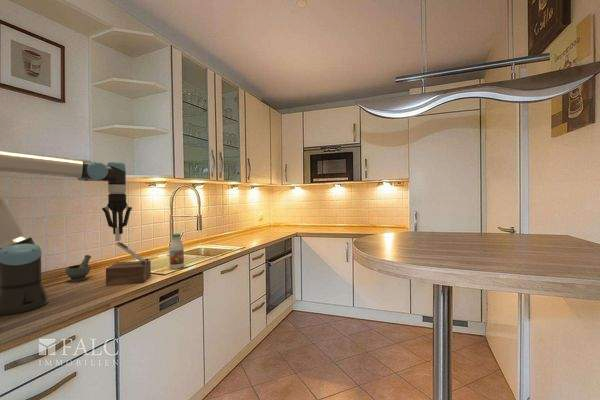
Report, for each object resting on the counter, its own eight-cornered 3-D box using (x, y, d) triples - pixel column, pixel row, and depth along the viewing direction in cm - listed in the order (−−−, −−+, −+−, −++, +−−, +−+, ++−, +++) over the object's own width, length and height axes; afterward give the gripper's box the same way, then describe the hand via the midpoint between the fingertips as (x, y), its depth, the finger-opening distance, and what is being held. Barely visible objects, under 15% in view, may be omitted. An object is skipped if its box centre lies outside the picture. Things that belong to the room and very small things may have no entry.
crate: (143, 282, 139) (143, 262, 139) (103, 285, 134) (102, 265, 134) (150, 275, 152) (150, 256, 152) (114, 277, 148) (114, 258, 148)
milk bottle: (166, 268, 166) (166, 234, 165) (176, 265, 173) (176, 232, 172) (176, 270, 163) (176, 235, 162) (186, 266, 170) (186, 233, 170)
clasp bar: (144, 264, 143) (146, 262, 144) (115, 244, 140) (117, 242, 140) (146, 262, 147) (148, 260, 147) (117, 243, 144) (119, 241, 144)
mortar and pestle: (74, 283, 138) (73, 259, 138) (61, 282, 141) (60, 257, 141) (97, 277, 149) (97, 254, 148) (84, 276, 152) (84, 253, 152)
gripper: (134, 193, 147) (135, 238, 147) (105, 193, 144) (106, 240, 144) (129, 193, 140) (130, 241, 140) (99, 193, 136) (100, 242, 137)
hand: (118, 240), depth 142 cm, fingers closed
